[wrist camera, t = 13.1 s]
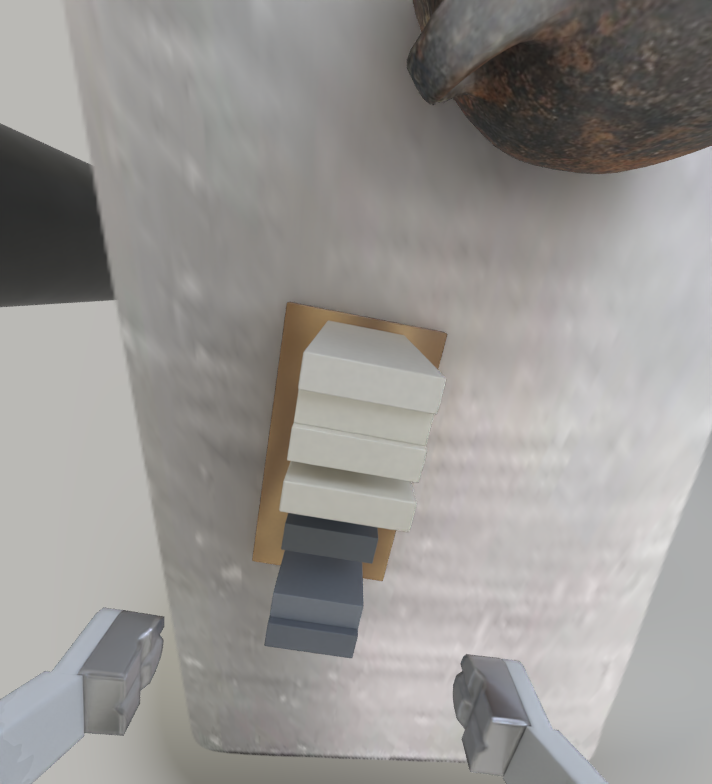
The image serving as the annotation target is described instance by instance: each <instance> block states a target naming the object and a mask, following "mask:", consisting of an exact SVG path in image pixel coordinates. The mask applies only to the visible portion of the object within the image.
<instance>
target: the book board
mask: <svg viewBox="0 0 712 784" xmlns="http://www.w3.org/2000/svg"><path fill="white" fill-rule="evenodd" d="M327 321H334V322H339V323H344V324H349V325H354V326H359V327H365V328H370V329H375V330H380V331H385V332H390V333H395V334H401V335H404V336H405V337H406V338H407V339H408V340H409V341H410V342H411V343H412V344H413V345H414V346H415V347H416V348H417V349H418V350H419V351H420V352H421V353H422V354H423V355H424V356H425V357H426V358H427V359H428V360H429V361H430V362H431V363H432V364H433V365H434V366H435V367H436V368H437V369H438V368H439V364H440V360H441V357H442V353H443V349H444V345H445V341H446V337H447V333H445V332H441V331H436V330H431V329H426V328H421V327H415V326H410V325H405V324H400V323H395V322H390V321H385V320H380V319H375V318H370V317H364V316H359V315H354V314H349V313H344V312H339V311H334V310H329V309H324V308H318V307H313V306H308V305H303V304H298V303H293V302H288V303H287V307H286V314H285V321H284V329H283V336H282V344H281V351H280V358H279V366H278V373H277V381H276V388H275V395H274V403H273V410H272V418H271V425H270V432H269V440H268V447H267V455H266V462H265V470H264V477H263V484H262V492H261V499H260V507H259V514H258V521H257V529H256V536H255V544H254V551H253V558H252V561H256V562H262V563H269V564H275V565H281V562H282V558H283V555H284V551H285V550H282V549H281V546H282V540H283V533H284V527H285V522H286V519H287V515H288V513H286V512H281V511H279V507H280V500H281V494H282V487H283V481H284V478H285V476H286V473H287V470H288V467H289V465H290V462H291V461H288V460H287V456H288V449H289V442H290V436H291V429H292V426H293V423H294V416H295V410H296V403H297V397H298V390H299V389H298V384H299V377H300V371H301V364H302V358H303V352H304V351H305V350H306V348H307V347H308V346H309V344H310V343H311V342H312V341H313V339H314V338H315V337H316V335H317V334H318V333H319V331H320V330H321V329H322V328H323V326H324V325H325V324H326V322H327ZM377 528H378V543H377V547H376V551H375V555H374V559H373V563H372V564H370V563H364V562H362V571H363V578H365V579H372V580H378V581H383V578H384V574H385V570H386V566H387V563H388V559H389V555H390V551H391V547H392V544H393V540H394V536H395V532H396V530H391V529H385V528H379V527H377Z"/></svg>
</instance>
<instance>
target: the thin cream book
mask: <svg viewBox="0 0 712 784" xmlns="http://www.w3.org/2000/svg"><path fill="white" fill-rule="evenodd" d="M416 506H417V501H416V498H415V494H414V491H413V487H412V483H411V481H405V480H399V479H393V478H387V477H381V476H376V475H370V474H364V473H358V472H352V471H346V470H341V469H335V468H329V467H323V466H317V465H311V464H306V463H300V462H294V461H291V462H290V465H289V467H288V470H287V473H286V476H285V478H284V481H283V487H282V494H281V500H280V507H279V511H281V512H286V513H292V514H299V515H305V516H311V517H317V518H323V519H329V520H335V521H342V522H348V523H354V524H360V525H366V526H372V527H379V528H385V529H391V530H397V531H403V532H409V531H410V528H411V524H412V521H413V517H414V513H415V510H416Z"/></svg>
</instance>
